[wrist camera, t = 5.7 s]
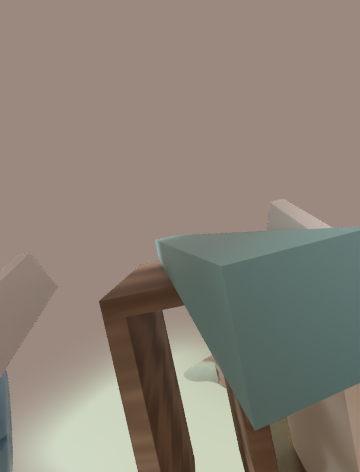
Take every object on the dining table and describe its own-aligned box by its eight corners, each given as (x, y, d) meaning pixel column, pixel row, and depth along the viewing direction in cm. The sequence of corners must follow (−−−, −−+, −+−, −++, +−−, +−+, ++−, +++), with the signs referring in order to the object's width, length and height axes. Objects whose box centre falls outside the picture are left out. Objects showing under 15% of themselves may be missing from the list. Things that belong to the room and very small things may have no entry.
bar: (400, 364, 4) (377, 225, 4) (254, 430, 3) (221, 266, 3) (181, 254, 27) (177, 235, 27) (159, 259, 27) (154, 240, 27)
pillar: (518, 609, 14) (475, 333, 13) (387, 630, 14) (338, 360, 13) (361, 432, 26) (334, 283, 25) (292, 444, 26) (263, 297, 25)
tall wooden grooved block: (316, 659, 14) (238, 272, 12) (186, 681, 14) (99, 301, 13) (250, 448, 26) (209, 250, 25) (183, 461, 27) (140, 264, 26)
